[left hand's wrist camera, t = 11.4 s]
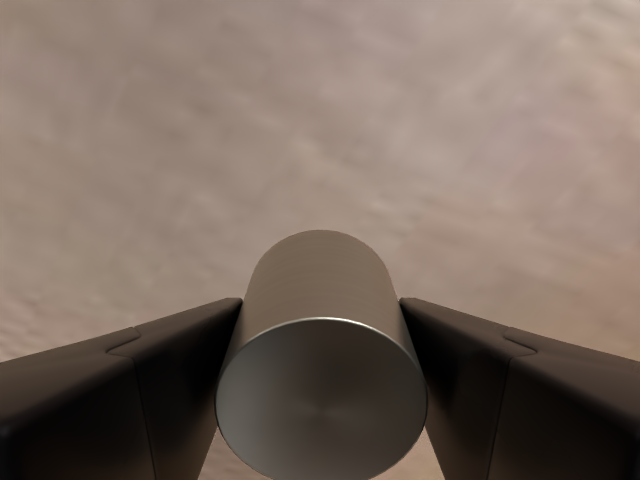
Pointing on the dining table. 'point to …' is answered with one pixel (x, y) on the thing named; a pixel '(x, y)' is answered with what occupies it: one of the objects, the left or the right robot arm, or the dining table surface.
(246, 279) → the dining table surface
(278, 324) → the canister
